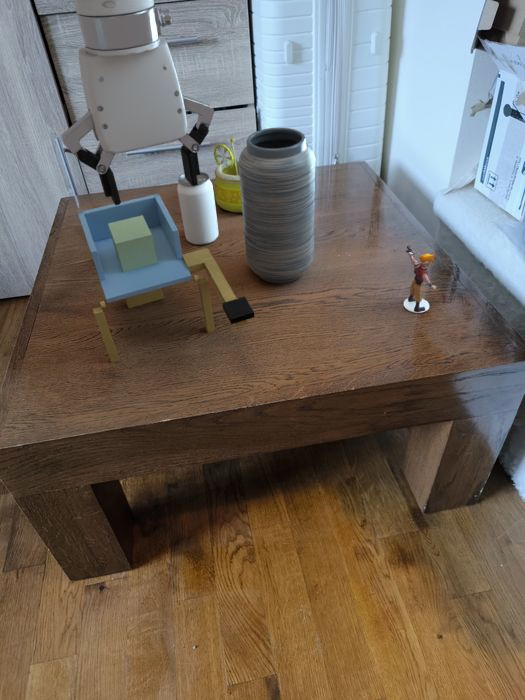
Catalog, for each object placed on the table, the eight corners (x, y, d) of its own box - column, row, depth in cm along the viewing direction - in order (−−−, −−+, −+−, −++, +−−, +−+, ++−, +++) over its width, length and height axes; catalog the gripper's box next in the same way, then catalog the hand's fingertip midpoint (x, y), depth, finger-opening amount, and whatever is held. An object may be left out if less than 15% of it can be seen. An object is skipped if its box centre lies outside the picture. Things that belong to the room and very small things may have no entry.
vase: (326, 264, 91) (331, 133, 75) (286, 297, 85) (283, 161, 69) (275, 244, 97) (269, 118, 81) (234, 273, 90) (220, 143, 75)
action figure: (390, 281, 86) (398, 232, 80) (407, 279, 87) (415, 229, 80) (417, 326, 78) (428, 275, 71) (436, 324, 78) (448, 272, 71)
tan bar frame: (111, 363, 75) (91, 307, 68) (96, 311, 85) (77, 257, 77) (215, 331, 79) (206, 274, 72) (190, 285, 89) (180, 231, 81)
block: (123, 272, 72) (115, 243, 69) (115, 252, 75) (107, 223, 72) (157, 263, 74) (151, 234, 70) (148, 243, 77) (142, 215, 73)
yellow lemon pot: (273, 211, 106) (270, 153, 98) (221, 219, 105) (214, 162, 96) (259, 185, 115) (256, 130, 107) (211, 192, 114) (204, 137, 106)
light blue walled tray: (127, 363, 62) (116, 331, 58) (88, 244, 78) (77, 212, 74) (254, 323, 67) (253, 290, 62) (193, 218, 82) (189, 186, 78)
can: (224, 239, 99) (217, 179, 91) (194, 249, 97) (184, 189, 89) (210, 225, 103) (202, 167, 95) (180, 235, 101) (169, 176, 93)
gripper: (190, 12, 56) (209, 164, 68) (27, 36, 52) (78, 195, 63) (214, 24, 51) (230, 186, 63) (35, 52, 46) (89, 222, 58)
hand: (154, 190), depth 63 cm, fingers open, 9 cm apart
